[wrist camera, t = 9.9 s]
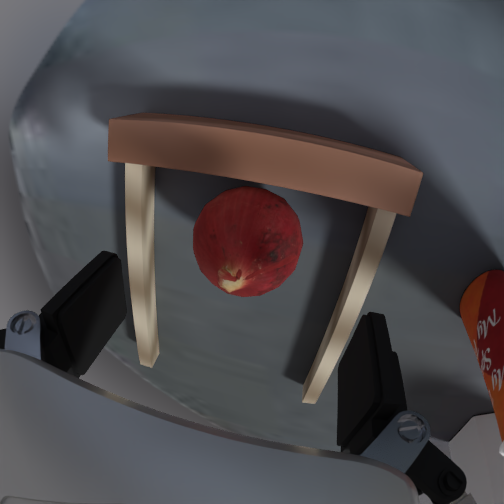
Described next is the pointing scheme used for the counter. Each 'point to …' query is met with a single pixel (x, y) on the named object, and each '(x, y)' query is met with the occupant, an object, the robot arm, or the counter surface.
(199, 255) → the red apple
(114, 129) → the wooden u-shaped frame
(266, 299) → the counter surface
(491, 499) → the milk carton
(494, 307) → the paper cup
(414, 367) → the counter surface
